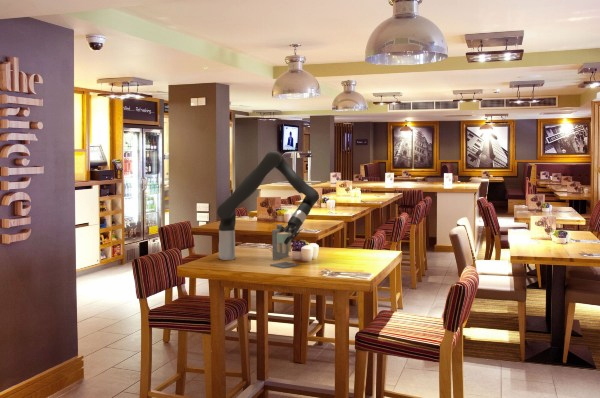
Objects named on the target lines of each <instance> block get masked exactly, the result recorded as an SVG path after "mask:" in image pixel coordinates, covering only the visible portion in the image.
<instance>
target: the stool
mask: <svg viewBox="0 0 600 398" xmlns="http://www.w3.org/2000/svg"><path fill="white" fill-rule="evenodd" d="M288 235H289V233H286V232H282V233H277V252H280V243H282V253H285V251H286V245H285V243H284V241H285V240H286V238H287V237H288ZM290 236H291V235H290ZM288 252H289V253H292V239H291V240H290V241H289V243H288Z"/></svg>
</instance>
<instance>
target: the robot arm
mask: <svg viewBox="0 0 600 398" xmlns="http://www.w3.org/2000/svg"><path fill="white" fill-rule="evenodd" d="M274 169H276V170H278V172H280V173H281V174H282V175H283V176H284V178H285V179H286V181H287V182H288V183H289V184H290V186H291V187H292V188H293V189H294V190H295V191H296V192H297V193H299V194H303V195H304V198H303V199H302V202H301V203H300V204H299V205H298V206H297V209H296V210H295V211H294V212H293V213H292V215H291V217H290V218H289V220H288V221H287V225H286V226H283V225H282V227H281V229H280V231H279V233H282V232H286V233H289V235H288V237H287V238H286V240H285V241H284V243H285V245H287V244H288V243H289V241H290V240H291V241H292V240H295V239H296V238H297V236H298V235H299V234H300V233H301V230H300V228H302V225H303V224H304V222H305V221H306V219H307V217H308V216H309V214H310V212H311V210H312V208H313V207H314V206H315V204H317V202H318V201H319V199H320V193H319V192H318V191H317V190H316V189H315V188H313V187H312V186H311V185H309V184H308V183H307V182H305V180H304V179H303V178H302V177H301V176H300V175H299V174H298V173H297V172H296V171H295V170H294V169H293V168H292V167H291V166H290V164H288V162H287V160H285V158H284V156H283V155H282V154H281V152H280V151H277V150H271V151H268V152H267V153H266V154H265V156H264V157H263V159H262V160H261V161H260V162H259V164H258V165H257V166H256V167H255V168H254V169H253V170H251V172H249V174H248V175H246V177H245V178H244V179H243V180H242V181H241V182H240V183H239V184H238V185H237V187H236V188H235V189H234V191H233V192H232V193H231V195H230V196H229V197H227V198H226V200H224V201H223V202H222V203H221V204H220V205H219V206H218V207H217V211H216V214H217V216H218V217H219V219H220V220H219V221H220V222H219V225H218V238H219V239H218V241H219V242H218V259H219V260H223V261H230V260H235V259H236V234H235V233H236V231H235V229H236V222H237V221H236V218H237V217H236V209H237V208H238V207H239V206H240V205H241V204H242V203H243V202H244V201H246V200H247V199H249V197H251V196H252V194H254V193H255V192H256V190H257V189H258V188H259V187H260V186H261V184H262V182H263V181H264V179H265V178H266V176H267V175H268V174H269V173H270V172H271V171H272V170H274ZM290 235H291V236H290Z"/></svg>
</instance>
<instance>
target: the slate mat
mask: <svg viewBox="0 0 600 398" xmlns="http://www.w3.org/2000/svg"><path fill="white" fill-rule="evenodd" d="M269 265H270V266H271V267H273V268H274V267H275V268H279V269H280V268H281V269H287V268H294V267H298V266H299V264H298V263H295V262H294V263H293V262H288V261H281V262H276V263H270V264H269Z"/></svg>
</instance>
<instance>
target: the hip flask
mask: <svg viewBox="0 0 600 398" xmlns="http://www.w3.org/2000/svg"><path fill="white" fill-rule="evenodd" d="M275 226H276V228H275V229H272V230H271V232H272V234H271V236H272V237H271V240H272V241H271V242H272V244H271V245H272V247H271V248H272V250H271V251H272V261H278V260H280V259H285V258H289V256H290V252H288V244H287V245H286V251H285V253H282V243H280V252H277V233H279V231H280V229H281V227H282V226H283V224H276V225H275Z"/></svg>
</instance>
